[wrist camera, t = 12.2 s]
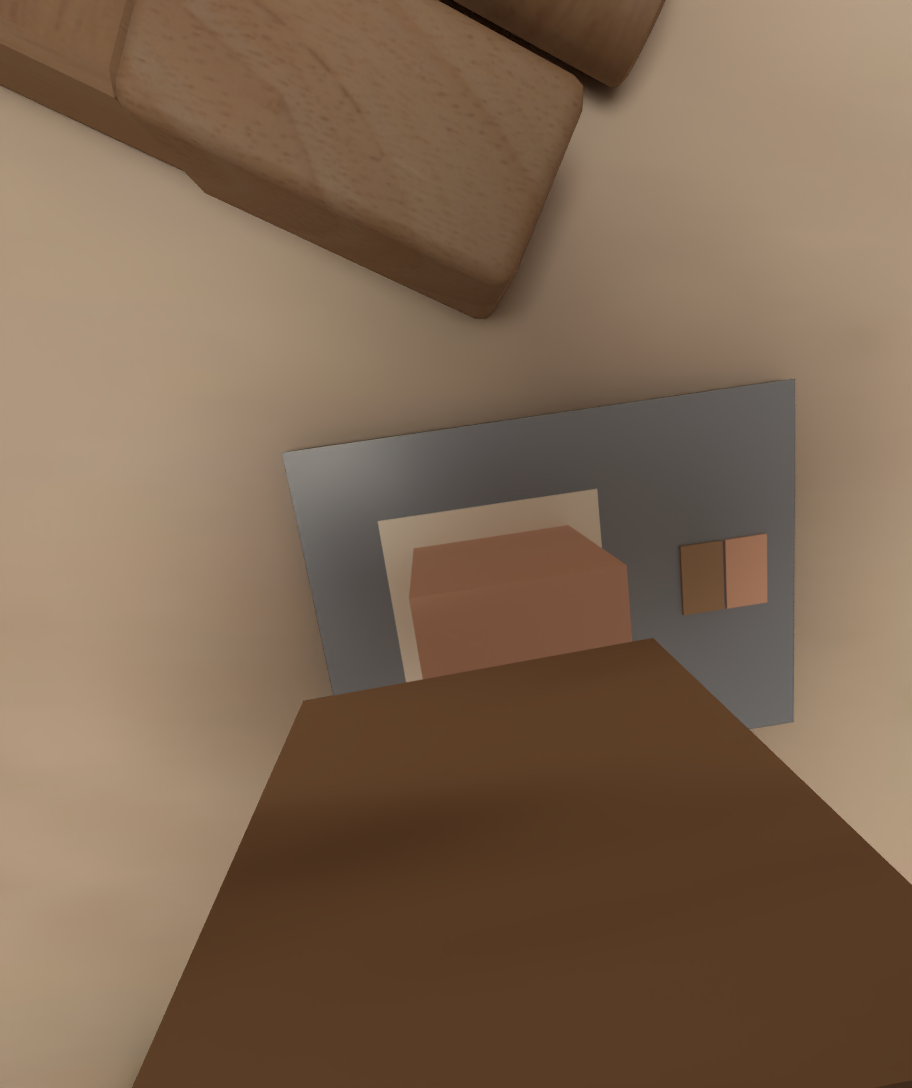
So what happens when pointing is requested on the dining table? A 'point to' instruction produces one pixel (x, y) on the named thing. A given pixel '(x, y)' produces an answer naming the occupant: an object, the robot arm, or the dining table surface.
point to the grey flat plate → (588, 507)
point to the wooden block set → (343, 113)
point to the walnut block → (543, 900)
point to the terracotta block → (515, 600)
